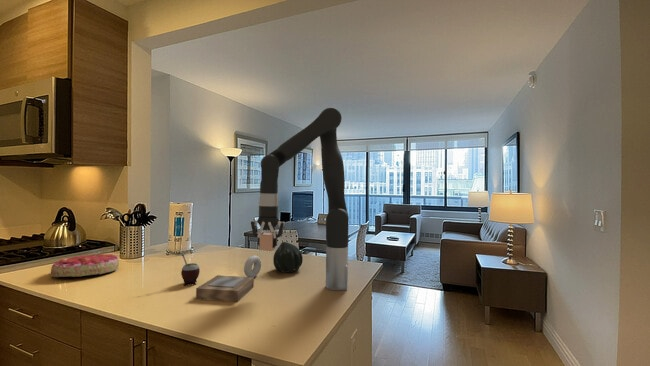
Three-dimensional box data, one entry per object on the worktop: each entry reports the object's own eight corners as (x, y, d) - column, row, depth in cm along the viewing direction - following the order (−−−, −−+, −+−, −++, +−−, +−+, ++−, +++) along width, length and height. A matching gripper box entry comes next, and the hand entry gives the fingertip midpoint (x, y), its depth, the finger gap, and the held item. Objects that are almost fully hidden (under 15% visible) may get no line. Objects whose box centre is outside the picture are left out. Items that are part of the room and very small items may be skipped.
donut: (247, 281, 130) (248, 258, 130) (241, 279, 131) (242, 257, 131) (262, 275, 139) (263, 253, 139) (256, 274, 140) (257, 253, 140)
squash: (312, 259, 148) (297, 235, 153) (294, 267, 136) (277, 240, 141) (296, 274, 154) (281, 250, 159) (277, 283, 142) (261, 256, 147)
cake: (73, 282, 121) (75, 262, 122) (35, 277, 130) (37, 259, 130) (130, 270, 145) (131, 253, 145) (95, 267, 153) (96, 251, 154)
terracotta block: (275, 248, 121) (275, 233, 121) (271, 251, 116) (272, 235, 116) (263, 247, 121) (263, 233, 121) (259, 250, 116) (259, 235, 116)
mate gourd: (202, 282, 127) (203, 247, 127) (187, 288, 120) (188, 251, 120) (190, 280, 130) (191, 245, 130) (174, 285, 123) (175, 249, 123)
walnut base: (253, 287, 122) (253, 276, 122) (237, 302, 106) (237, 290, 106) (217, 284, 124) (217, 274, 124) (196, 299, 108) (196, 287, 108)
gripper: (288, 204, 121) (287, 246, 121) (254, 203, 123) (253, 244, 123) (283, 205, 114) (282, 250, 114) (247, 204, 116) (246, 248, 116)
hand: (267, 246), depth 118 cm, fingers closed on terracotta block, 5 cm apart
